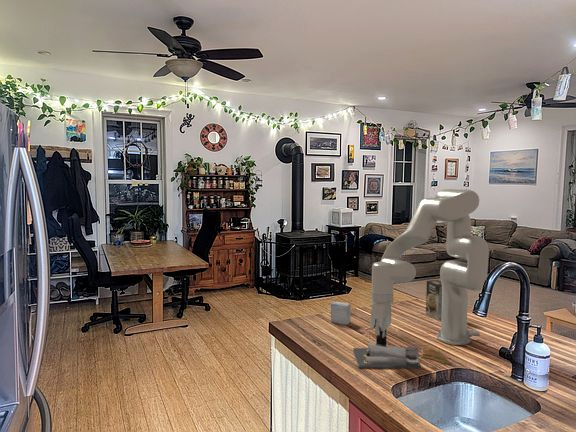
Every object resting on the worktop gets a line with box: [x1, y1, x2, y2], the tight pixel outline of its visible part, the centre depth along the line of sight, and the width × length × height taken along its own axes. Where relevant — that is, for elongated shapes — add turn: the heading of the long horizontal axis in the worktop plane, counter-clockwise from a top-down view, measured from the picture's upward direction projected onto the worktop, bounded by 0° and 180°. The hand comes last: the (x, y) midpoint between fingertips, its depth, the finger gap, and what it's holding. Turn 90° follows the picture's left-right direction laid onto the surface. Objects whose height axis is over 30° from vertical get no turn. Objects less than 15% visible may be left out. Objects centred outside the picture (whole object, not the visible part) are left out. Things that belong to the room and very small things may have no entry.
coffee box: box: [425, 279, 442, 321], centre depth 189 cm, size 9×6×16 cm
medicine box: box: [330, 301, 352, 326], centre depth 181 cm, size 8×4×9 cm, turn 58°
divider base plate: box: [352, 347, 422, 369], centre depth 144 cm, size 21×14×3 cm, turn 89°
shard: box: [420, 348, 451, 365], centre depth 145 cm, size 11×8×2 cm
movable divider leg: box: [366, 342, 420, 359], centre depth 142 cm, size 18×4×4 cm, turn 68°
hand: (381, 346), depth 146 cm, fingers closed
